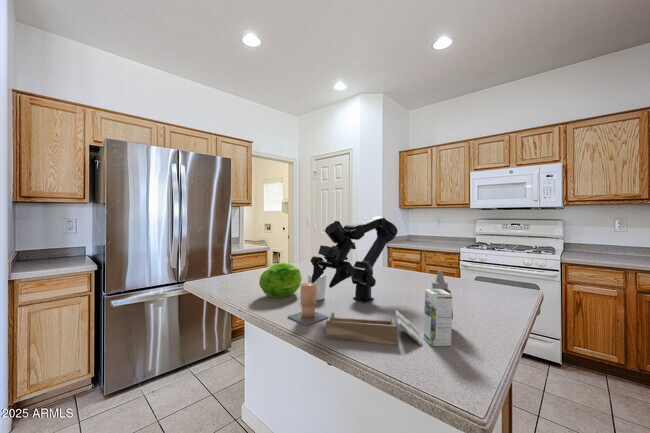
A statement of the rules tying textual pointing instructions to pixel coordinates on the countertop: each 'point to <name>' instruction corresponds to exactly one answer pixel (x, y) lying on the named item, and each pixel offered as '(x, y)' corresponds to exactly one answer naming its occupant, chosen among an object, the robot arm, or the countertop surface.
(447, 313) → the syrup box
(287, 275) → the lettuce
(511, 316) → the countertop surface
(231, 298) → the countertop surface
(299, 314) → the slate tile
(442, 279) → the squeeze bottle
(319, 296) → the white cup
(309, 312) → the peach domed cylinder
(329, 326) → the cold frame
